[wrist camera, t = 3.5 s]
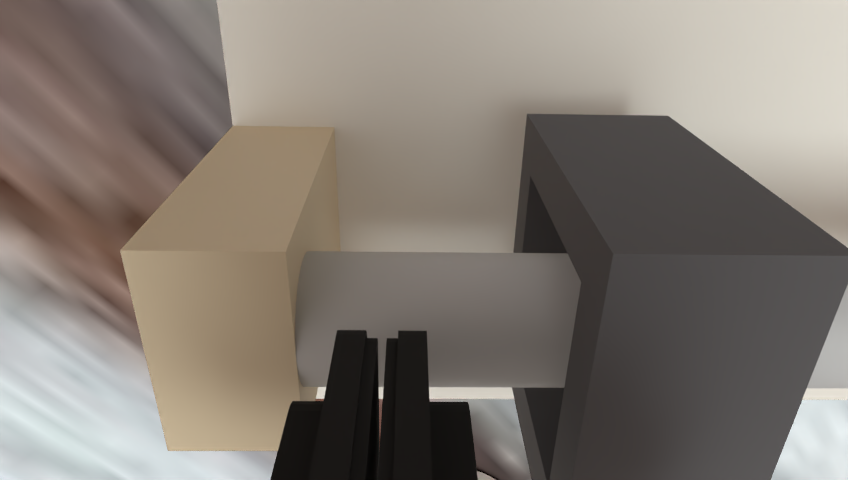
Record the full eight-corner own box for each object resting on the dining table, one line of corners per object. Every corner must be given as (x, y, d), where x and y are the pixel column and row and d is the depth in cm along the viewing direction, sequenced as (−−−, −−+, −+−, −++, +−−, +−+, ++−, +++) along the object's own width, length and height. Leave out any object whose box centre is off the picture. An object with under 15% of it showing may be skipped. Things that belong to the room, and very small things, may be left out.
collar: (526, 114, 15) (613, 253, 9) (667, 115, 15) (858, 256, 9) (503, 349, 19) (553, 579, 12) (619, 350, 19) (731, 578, 12)
